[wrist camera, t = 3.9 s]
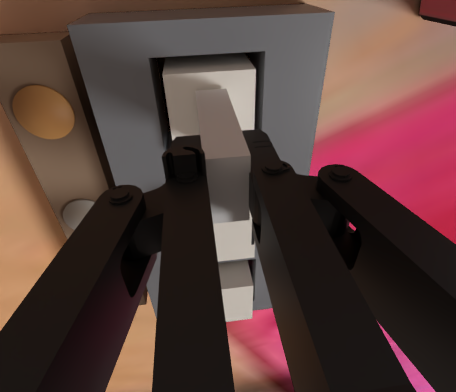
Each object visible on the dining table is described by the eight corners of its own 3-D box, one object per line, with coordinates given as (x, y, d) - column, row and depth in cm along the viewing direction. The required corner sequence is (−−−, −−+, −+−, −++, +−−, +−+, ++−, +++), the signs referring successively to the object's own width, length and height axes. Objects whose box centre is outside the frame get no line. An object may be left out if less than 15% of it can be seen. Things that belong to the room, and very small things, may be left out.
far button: (244, 279, 28) (252, 318, 25) (197, 284, 28) (199, 325, 25) (244, 246, 26) (253, 285, 23) (192, 252, 25) (193, 292, 22)
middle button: (244, 218, 24) (254, 257, 21) (188, 224, 24) (189, 264, 20) (245, 171, 21) (256, 207, 18) (181, 176, 21) (181, 214, 18)
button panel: (277, 271, 32) (287, 305, 28) (160, 285, 31) (157, 322, 27) (306, 3, 17) (334, 12, 14) (88, 13, 16) (66, 25, 13)
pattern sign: (148, 281, 30) (146, 306, 28) (104, 287, 30) (99, 311, 28) (74, 31, 17) (58, 40, 15) (-7, 35, 16) (-35, 45, 14)
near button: (242, 122, 20) (253, 151, 17) (175, 127, 20) (174, 157, 17) (242, 50, 18) (255, 69, 14) (165, 54, 17) (162, 74, 14)
